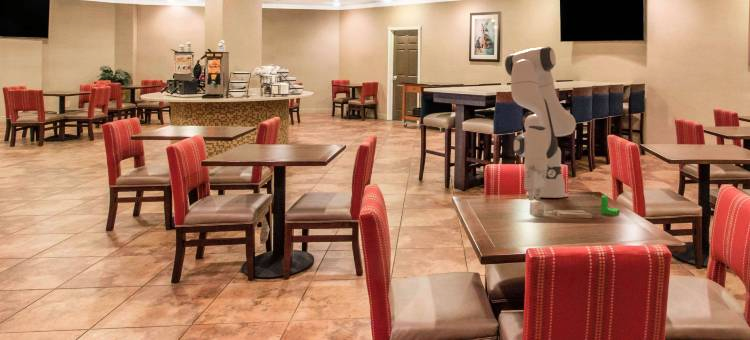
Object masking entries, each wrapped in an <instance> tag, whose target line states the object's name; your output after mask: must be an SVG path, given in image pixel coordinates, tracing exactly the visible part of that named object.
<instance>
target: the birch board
mask: <svg viewBox="0 0 750 340" xmlns="http://www.w3.org/2000/svg"><path fill="white" fill-rule="evenodd" d="M552 212H553V213H554V214H553V213H552ZM551 213H552V214H553V215H555V214H556V215H555V216H557V217H560V218H562V219H564V218H565V219H593V217H594V216H593V214H592V213H590V212H587V211H585V210H581V209H552V210H551Z"/></svg>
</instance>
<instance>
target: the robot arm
mask: <svg viewBox="0 0 750 340" xmlns="http://www.w3.org/2000/svg"><path fill="white" fill-rule="evenodd" d="M556 60H557V57H556V54H555V51H554V49H553V48H551V47H550V46H541V47H534V48H529V49H525V50H522V51H518V52H513V53H511V54H509V55H507V56H506V58H505V61H504V67H505V71H506V73H507V74H508V75H509V76H510V88H511V89H510V90H511V98H512V99H513V101H514V102H515V103H516V105H518V106H520V107H522V108H525V109H527V110H528V111H530V112H532V113H533V114H529V115H528V116H527V117H525V121H524V125H523V126H524V130H525V131H524V132H523V133H521V134H517V136H516V137H515V138H514V139H513V142H512V143H513V144H512V145H513V146H512V149H513V152H514V153H515V155H516V156H518V157H521V158H524V164H523V165H524V167H523V168H524V171H525V170H526V171H525V173H524V179H523V181H524V182H523V183H524V184H523V189H524V190H527V192H526V196H527V197H528V201H530V202H533V201H534V200H539V199H541V198H549V199H550V198H554V199H556V198H567V197H569V194H567V193H566V185H565V178H564V177H563V176H562V174H563V173H562V171H563V169H562V166H561V165H562V163H561V162H562V151H561V147H559V143H558V139H557V137H566V136H569V135H571V134H573V133H574V131H575V129H576V125H577V123H576V118H575V117H574V116H573V114H571V113H569V112H568V111H567V110H566V109H565V107H563V105H562V104H561V102H560V100H559V98H558V95H557V91H556V87H555V84H554V78H553V75H552V70H553V69H554V67H555V66H556Z"/></svg>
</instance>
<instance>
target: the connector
mask: <svg viewBox="0 0 750 340" xmlns="http://www.w3.org/2000/svg"><path fill="white" fill-rule="evenodd" d="M544 214H545V203H544V202H541V201H529V215H531V216H532V217H537V218H538V217H541V218H542V217H544Z"/></svg>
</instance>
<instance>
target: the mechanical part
mask: <svg viewBox="0 0 750 340" xmlns="http://www.w3.org/2000/svg"><path fill="white" fill-rule="evenodd" d="M608 206H609V196H608V195H603V194H602V195H601V197H600V214H602V215H603V214H604V215H610V216H618V213H619V211H620V208H615V207H608Z"/></svg>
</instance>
